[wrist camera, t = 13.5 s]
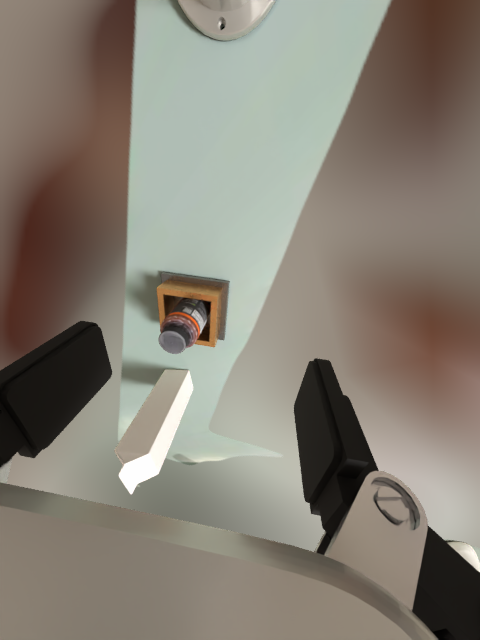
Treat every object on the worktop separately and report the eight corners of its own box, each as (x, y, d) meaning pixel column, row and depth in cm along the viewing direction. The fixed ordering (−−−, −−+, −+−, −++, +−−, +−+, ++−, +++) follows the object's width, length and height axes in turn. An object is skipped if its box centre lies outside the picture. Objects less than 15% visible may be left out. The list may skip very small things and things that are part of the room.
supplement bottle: (185, 323, 41) (159, 361, 32) (175, 295, 39) (143, 327, 29) (214, 320, 40) (196, 358, 31) (206, 291, 38) (184, 322, 28)
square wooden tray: (163, 271, 38) (149, 280, 34) (229, 281, 37) (224, 291, 33) (167, 328, 44) (156, 342, 39) (224, 337, 43) (219, 352, 39)
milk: (189, 369, 49) (138, 476, 30) (193, 388, 52) (150, 497, 32) (164, 368, 50) (99, 472, 30) (170, 387, 53) (114, 493, 33)
